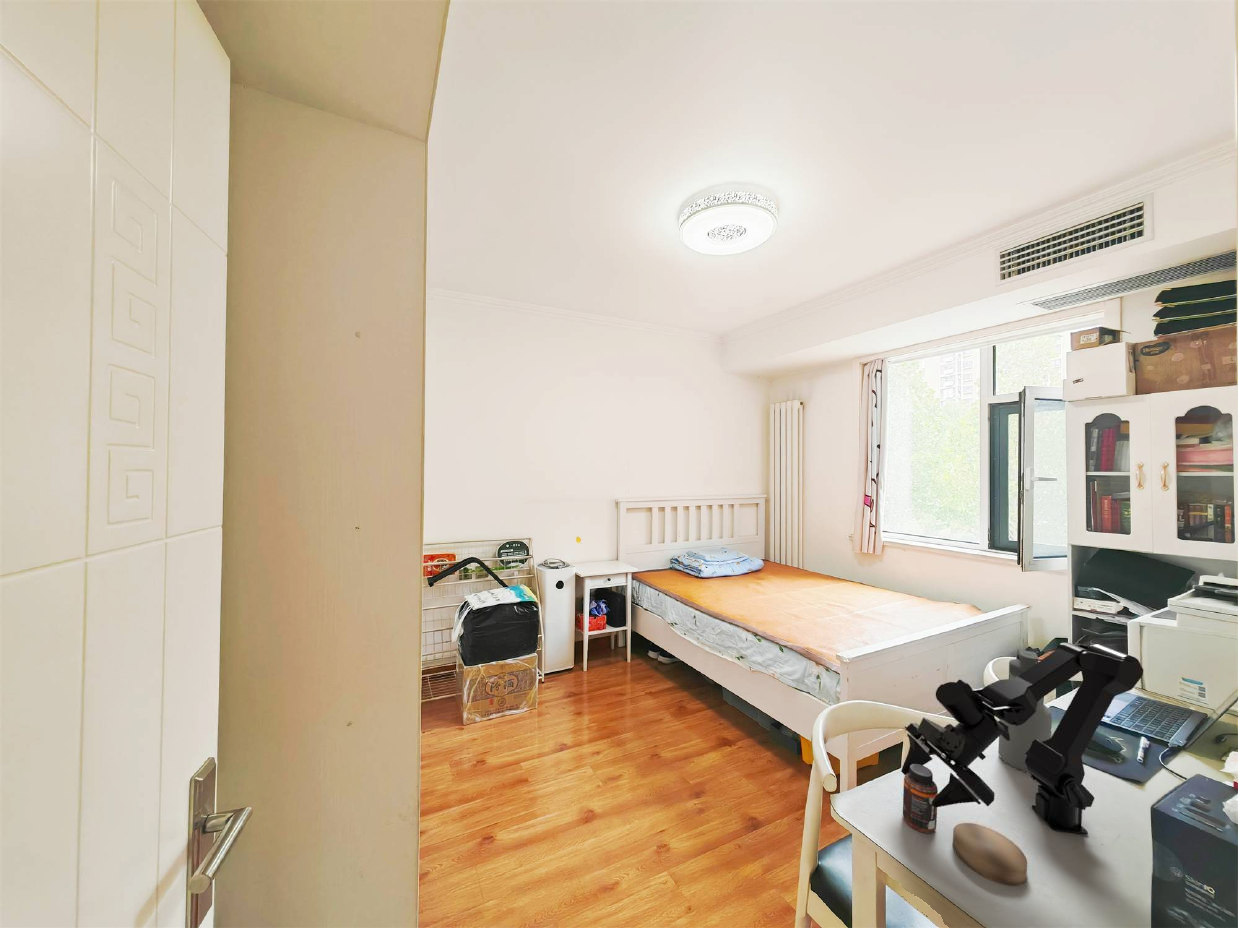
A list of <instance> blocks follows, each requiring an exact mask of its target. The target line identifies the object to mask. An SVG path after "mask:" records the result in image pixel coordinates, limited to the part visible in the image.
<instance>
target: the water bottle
mask: <svg viewBox="0 0 1238 928" xmlns="http://www.w3.org/2000/svg"><path fill="white" fill-rule="evenodd" d="M1038 662H1039V656H1038V654H1037V652H1035V651H1030V650H1024V649H1020V648H1017V650H1016V657H1015V658H1014V659H1010V660H1009V663H1008V679H1013V678H1015V677H1017V676H1019V675H1020V674H1022V673H1023V672H1025V671H1026V670H1028V669H1029V668H1031V667H1032V666H1034V665H1035V664H1036V663H1038ZM1044 697H1045V696H1044ZM1044 697H1043V698H1041V699H1040V700H1039V701H1038V702H1037V708H1036V712H1035V713H1034V714H1033V715H1032V716H1031V717H1030V718H1029V719H1028V720H1027V721H1026V722H1025V723H1023V724H1021V725H1019V726H1016V725H1011V724H1009V723H1007V722H1005V721H1004V720H1002V719H999V721H1001V722H1002V723H1004V724H1005V725H1007V726H1008V727H1009V728H1008V732H1009V735H1010V740H1009V741H1007V740H1005V739H1004V738H1003V737H1001V736H999V737H998V751H997V752H998V755H999V757H1000V758H1001V759H1002V760H1003V761H1004V763H1006V764H1007V765H1009V766H1011V767H1012V768H1015V770H1018V771H1021V772H1024V773H1026V774H1030V772H1029V771H1028V769H1027V766H1026V764H1025V759H1026V756H1027V755H1026V754H1025V753H1026V752H1027V751H1028V750H1029V749H1030V747H1031V744H1032V742H1033V741H1034V740H1035V739H1037V740H1039V741H1040V742H1042V741H1045V740H1048V739H1050V738H1051V737H1052V722H1053V715H1052V712H1051V710H1050V709H1049V708H1048V707H1047V706H1046V704H1044V702H1045V701H1044V699H1045V698H1044Z"/></svg>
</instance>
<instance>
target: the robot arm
mask: <svg viewBox="0 0 1238 928" xmlns="http://www.w3.org/2000/svg"><path fill="white" fill-rule="evenodd" d="M1141 664H1142V663H1141V662H1140V661H1139V659H1138V658H1137V657H1135V656H1132V655H1129V654H1127V653H1125V652H1122V651H1119V650H1117V649H1113V648H1111V647H1108V646H1106V645H1103V644H1101V643H1096V644H1090V645H1087V644H1082V643H1071V642H1061V643H1059V644H1058V645H1057V646H1056V649H1055V650H1054V651H1052V652H1051V653H1050V654H1048V655H1047V656H1045V657H1044V658H1042V659H1041V660H1038V663H1036V664H1035V665H1034V666H1032V667H1031V668H1029V669H1028V670H1026V671H1025V672H1023V673H1022V674H1020V675H1019V676H1017V677H1015V678H1013V679H1009V678H1006V679H998V680H996V681H994V682H992V683H989V684H988V685H986V686H984V687H980V688H972V687H971V685H970V684H969V683H968V682H966V681H964V680H962V679H961V678H959V679H958V680H957V681H948V682H945V683H943V684H942V683H941V684H940V685H939V686H938V687H937V689H936V690H935V698H936V700H937V701H938V703H939V704H940V705H941V706H942V707H943V708H944V709H945V711H946V712H948V713H949V714H950V715H951V717H952V718H953V719H954V720H955V721H957V722H958V723H957V724H956V725H955V726H954V725H952V724H951V723H948V724H946V725H945V726H944V727H943V726H941V725H940V724H938V723H936V722H934V721H933V720H931V719H928V718H926V717H922V720H921V721H920V723H919V724H918V723H915V722H910V724H909V725H908V726H906V727H905V728H904V729H905V730H906V732H908V733H907V734H906V737H907V738H908V741H909V747H908V751H907V754H906V757H905V759H904V763H903V765H902V767H901V769H900V770H901V773H902V774H903V775H904V776H905V775H906V774H907V773H909V771H910V765H912V764H919V765H923V766H924V765H926V764H928V763H929V762H931V761H932V760H933V757H932V756H936V757H937V758H938V759H939V760H941V761H942V762H943V763H944V764H945V765H946V766H947V767H948V768H949V769H951V771H953V772H954V773H955V775H956V776H955V775H954V774H953V773H952V772H949V780H948V783H947V784H946V785H945V786H944V787H943V788H942V789H941V790H940V792H939V791H938V794H937V796H936V797H935V798H934V799H933V801H932V802H931V803H932V804H933V806H934V807H937V808H941V807H946V806H951V805H957V804H966V803H967V804H968V803H976V804H978V805H980V804H981V802H982V803H983V804H984V805H986V806H987V807H989V806H990V805H991V804H992V803H993V802H994V801H995V795H996V794H995V792H994V790H993V789H991V787H990V786H989V785H988V784H987V783H986V782H985V781H984V780H983V779H982V778H981V777H980V776H979V775H978V774H977V773H976V772H974V770H972V769H971V768H970V767H969V766H970V765H971V764H972V763H973V762H974V761H975V760H976V759H977V758H978V759H979V760H982V761H984V759H986V758H987V756H986V755H985V754H984V752H985V750H986V749H988V747H990V745H992V744H993V743H994V742H995V741H996V740H997V739H999V736H1001V737H1003V738H1004V739H1005V740H1007V741H1009V740H1010V735H1009V732H1008V728H1009V727H1008V726H1007V725H1005V724H1004V723H1002V722H1001V721H1000V719H1002V720H1004V721H1005V722H1007V723H1009V724H1011V725H1016V726H1019V725H1021V724H1023V723H1025V722H1026V721H1027V720H1028V719H1029V718H1030V717H1031V716H1032V715H1033V714H1034V713H1035V712H1036V708H1037V702H1038V701H1039V700H1040V699H1041V698H1043V697H1046V696H1047V695H1049V694H1050V693H1051V692H1053V691H1055V690H1056V689H1057V688H1059V687H1060V686H1062V685H1063V684H1065V683H1066V682H1067V681H1069V680H1070V679H1072V678H1073V677H1075V676H1076V675H1078V674H1079V673H1081V677H1082V681H1081V683H1080V685H1079V686H1078V688H1077V690H1076V692H1075V694H1074V695H1073V698H1071V699H1072V700H1071V701H1070V703H1069V704H1068V707H1067V709H1066V710H1065V712H1064V714H1063V716H1062V717H1061V720H1060V721H1059V722H1058V725H1057V727H1056V728H1055V730H1054V732H1053V734H1051V738H1050V739H1048V740H1045V741H1042V742H1040V741H1039V740H1037V739H1035V740H1034V741H1033V742H1032V744H1031V747H1030V749H1029V750H1028V751H1027V752H1026V753H1025V754H1026V755H1027V756H1026V759H1025V764H1026V766H1027V769H1028V771H1029V772H1030V773H1029V776H1030V779H1032V781H1035V782H1037V783H1038V785H1037V786H1038V787H1037V792H1036V793H1035V801H1034V802H1035V803H1034V804H1031V809H1032V810H1033V811H1034V812H1035V813H1036V814H1037V815H1038V816H1039V817H1040V819H1042V820H1043V821H1044V822H1045V823H1046V824H1047V826H1049V827H1050V829H1052V830H1053V831H1056V832H1057V831H1058V832H1064V833H1072V834H1073V833H1074V834H1080V835H1088V834H1089V831H1088V830H1087V829H1086V828H1085V827H1084V826H1083V825H1082V824H1083V823H1082V822H1083V811H1085V810H1086V808H1091V807H1092V806H1093V803H1094V800H1095V797H1094V795H1093V794H1092V793H1091V792H1090V791H1089V790H1088V789H1087V788H1086V787H1085V786H1084V784H1082V783H1083V781H1084V777H1085V774H1086V772H1085V768H1084V763H1083V758H1082V757H1083V754H1084V753H1085V751H1086V749H1087V747H1088V746H1089V744H1090V742H1091V740H1092V739H1093V736H1094V734H1095V733H1096V731H1097V729H1098V728H1099V726H1100V724H1101V722H1102V720H1103V718H1104V717H1105V715H1106V713H1107V711H1108V709H1109V708H1110V706H1111V704H1112V702H1113V701H1114V699H1115V698H1116V696H1119V695H1122V694H1124V693H1127V692H1129V691H1130V692H1131V690H1133V689H1134V687H1135V686H1136V685H1137V684H1138V683H1139V681H1140V680H1141V679H1142V677H1143V674H1144V668H1143V667H1142V665H1141ZM994 716H995V717H994ZM996 718H997V719H999V720H997V719H996ZM952 762H954V764H953V763H952ZM957 777H958V778H957Z"/></svg>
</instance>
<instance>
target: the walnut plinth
mask: <svg viewBox="0 0 1238 928" xmlns="http://www.w3.org/2000/svg"><path fill="white" fill-rule="evenodd" d="M952 831H953V832H952V833H953V834H952V847H953V850H954V852H955V855H957V856H958V858H959V859H960V861H962V862H963V863H964V864H965V865H966V866H967V867H968V868H970V869H971V870H972V871H974V872H975V873H977V874H979V875H980V876H982V877H984V878H985V879H988V880H990V881H992V882H994V883H998V884H1001V885H1006V886H1019V885H1022V884H1024V883H1025V882H1026V880H1027V877H1028V876H1027V875H1028V860H1027V857H1026V855H1025V854H1024V852H1023V851H1022V850H1021V848H1020V847H1019V846H1018V845H1017V844H1016V843H1014V842H1013V841H1012V840H1010V839H1009V838H1008V837H1007V836H1005V835H1004V834H1002V833H1000V832H999V831H996V830H994V829H992V828H990V827H987V826H985V825H981V824H978V823H973V822H961V823H958V824H956V825H955V826H954V827H953V829H952Z"/></svg>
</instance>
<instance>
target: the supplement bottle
mask: <svg viewBox="0 0 1238 928" xmlns="http://www.w3.org/2000/svg"><path fill="white" fill-rule="evenodd" d="M938 790H939V789H938V785H937V784H936V782H935V781H934V777H933V772H932V770H931V769H930V768H928V767H927V766H924V765H919V764H912V765H910V771H909V773H907V774H906V775H904V777H903V793H902V794H903V795H902V797H903V798H902V801H903V802H902V817H903V820H904V821H905V823H906V824H907V825H908V826H910V827H911V828H913V829H914V830H916V831H919V832H921V833H926V834H928V833H929V834H931V833H934V832H935V831H936V829H937V818H938V807H934V806H933V804H932V803H931V802H932V801H933V799H934V798H935V797H936V796H937V794H938V793H939V791H938Z"/></svg>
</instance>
